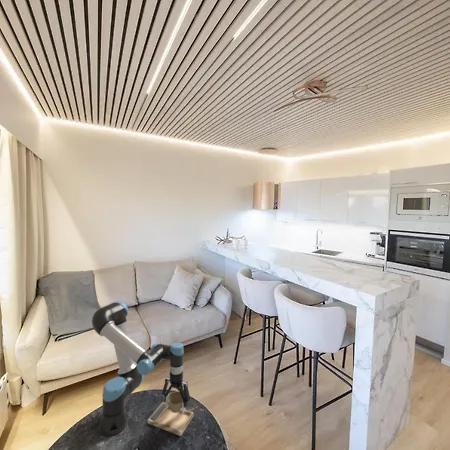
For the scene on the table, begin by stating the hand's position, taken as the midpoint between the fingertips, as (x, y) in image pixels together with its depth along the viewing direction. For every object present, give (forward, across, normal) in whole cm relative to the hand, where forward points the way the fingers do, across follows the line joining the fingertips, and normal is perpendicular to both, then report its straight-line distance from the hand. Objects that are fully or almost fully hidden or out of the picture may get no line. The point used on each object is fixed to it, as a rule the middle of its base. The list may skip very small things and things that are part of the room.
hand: (175, 409), depth 141 cm
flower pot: (0, 0, 0) cm, 0 cm away
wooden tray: (+7, -3, 0) cm, 7 cm away
